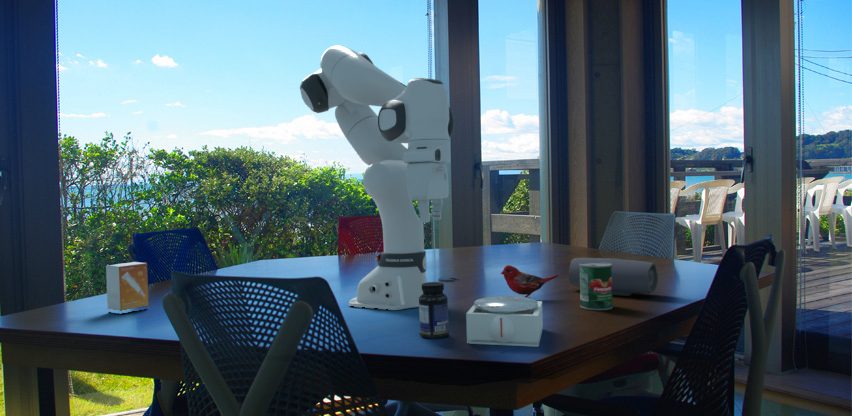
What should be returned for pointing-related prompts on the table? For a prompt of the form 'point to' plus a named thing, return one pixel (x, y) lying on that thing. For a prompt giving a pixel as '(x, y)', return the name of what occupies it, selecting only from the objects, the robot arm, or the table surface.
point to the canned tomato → (596, 285)
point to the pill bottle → (433, 311)
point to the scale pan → (506, 304)
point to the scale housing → (505, 327)
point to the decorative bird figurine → (523, 281)
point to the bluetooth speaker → (622, 275)
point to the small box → (127, 285)
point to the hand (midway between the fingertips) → (431, 221)
